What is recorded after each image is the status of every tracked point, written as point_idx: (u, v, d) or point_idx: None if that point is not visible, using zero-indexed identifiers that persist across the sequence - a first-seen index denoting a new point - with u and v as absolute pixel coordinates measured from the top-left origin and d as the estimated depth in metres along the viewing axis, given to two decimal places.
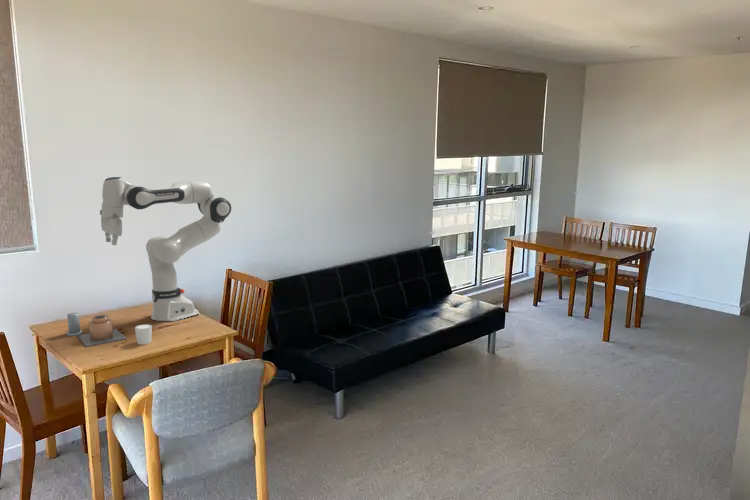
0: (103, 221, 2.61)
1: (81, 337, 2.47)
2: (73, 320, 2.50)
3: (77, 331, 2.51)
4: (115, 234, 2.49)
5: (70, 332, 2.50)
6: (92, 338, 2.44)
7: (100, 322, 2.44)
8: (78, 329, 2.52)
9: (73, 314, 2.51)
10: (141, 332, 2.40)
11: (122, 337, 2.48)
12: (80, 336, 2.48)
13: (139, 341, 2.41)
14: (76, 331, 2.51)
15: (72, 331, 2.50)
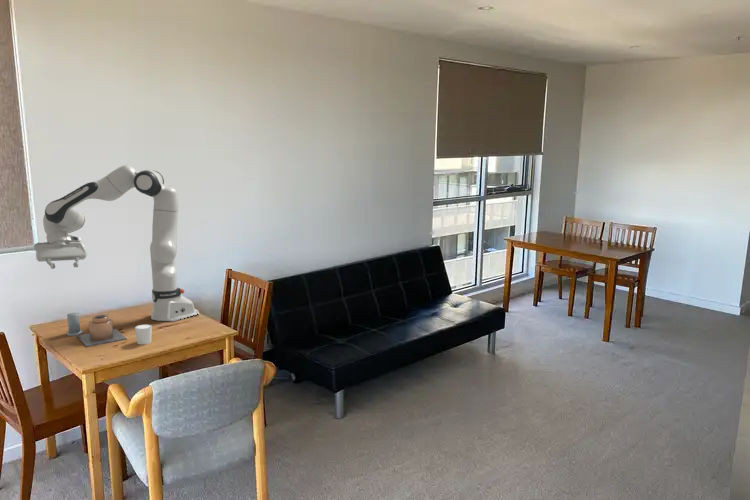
0: None
1: (81, 337, 2.47)
2: (73, 320, 2.50)
3: (77, 331, 2.51)
4: (37, 259, 2.52)
5: (70, 332, 2.50)
6: (92, 338, 2.44)
7: (100, 322, 2.44)
8: (78, 329, 2.52)
9: (73, 314, 2.51)
10: (141, 332, 2.40)
11: (122, 337, 2.48)
12: (80, 336, 2.48)
13: (139, 341, 2.41)
14: (76, 331, 2.51)
15: (72, 331, 2.50)
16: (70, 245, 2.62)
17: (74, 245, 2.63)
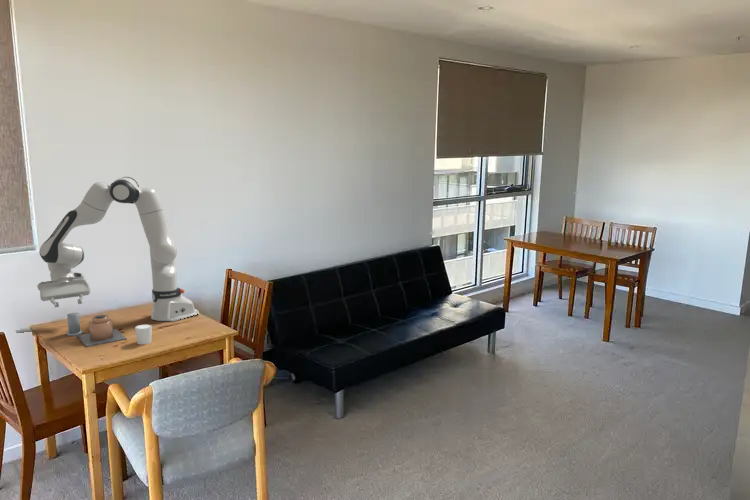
0: None
1: (81, 337, 2.47)
2: (73, 320, 2.50)
3: (77, 331, 2.51)
4: (41, 299, 2.53)
5: (70, 332, 2.50)
6: (92, 338, 2.44)
7: (100, 322, 2.44)
8: (78, 329, 2.52)
9: (73, 314, 2.51)
10: (141, 332, 2.40)
11: (122, 337, 2.48)
12: (80, 336, 2.48)
13: (139, 341, 2.41)
14: (76, 331, 2.51)
15: (72, 331, 2.50)
16: (73, 282, 2.62)
17: (77, 281, 2.63)
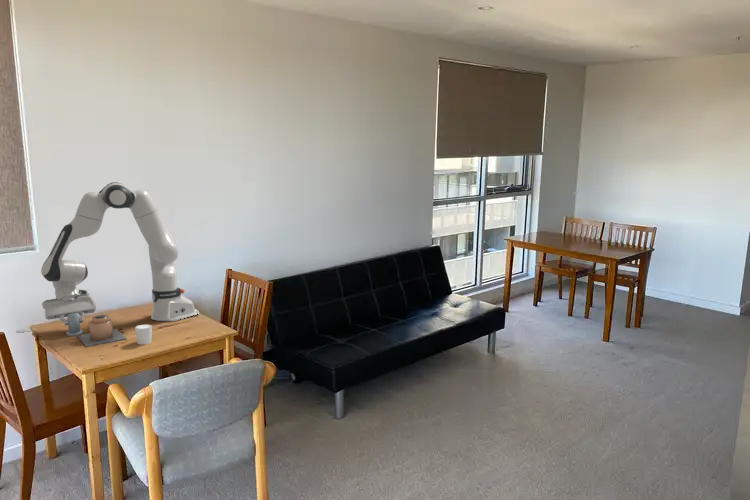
0: None
1: (81, 337, 2.47)
2: (73, 320, 2.50)
3: (77, 331, 2.51)
4: (46, 318, 2.48)
5: (70, 332, 2.50)
6: (92, 338, 2.44)
7: (100, 322, 2.44)
8: (78, 329, 2.52)
9: (73, 314, 2.51)
10: (141, 332, 2.40)
11: (122, 337, 2.48)
12: (80, 336, 2.48)
13: (139, 341, 2.41)
14: (76, 331, 2.51)
15: (72, 331, 2.50)
16: (79, 299, 2.57)
17: (83, 299, 2.58)
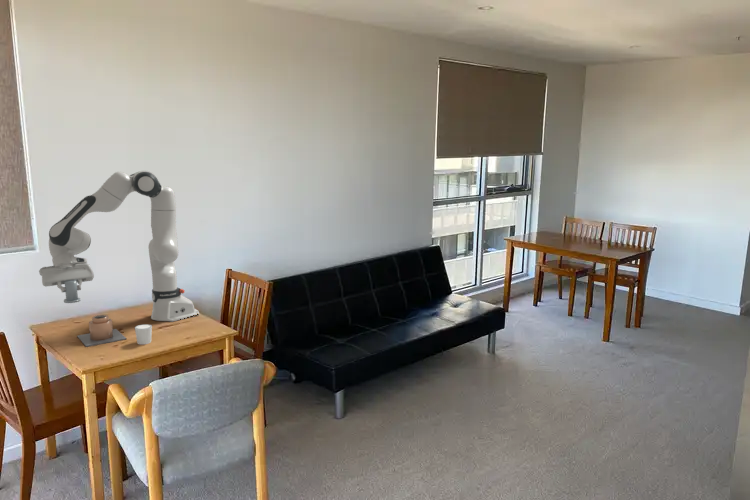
0: None
1: (81, 337, 2.47)
2: (70, 287, 2.47)
3: (75, 298, 2.49)
4: (43, 284, 2.45)
5: (67, 299, 2.48)
6: (92, 338, 2.44)
7: (100, 322, 2.44)
8: (76, 296, 2.49)
9: (70, 281, 2.48)
10: (141, 332, 2.40)
11: (122, 337, 2.48)
12: (80, 336, 2.48)
13: (139, 341, 2.41)
14: (74, 298, 2.48)
15: (69, 298, 2.48)
16: (76, 267, 2.54)
17: (80, 267, 2.55)
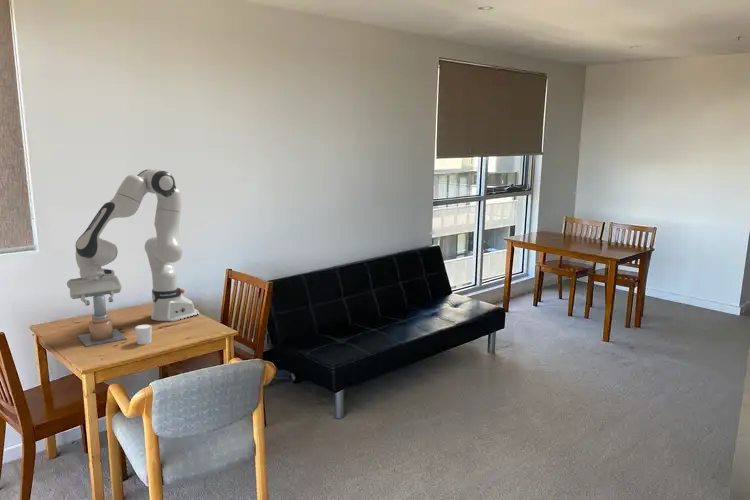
0: None
1: (81, 337, 2.47)
2: (99, 303, 2.43)
3: (103, 314, 2.45)
4: (71, 297, 2.41)
5: (96, 315, 2.44)
6: (92, 338, 2.44)
7: (100, 322, 2.44)
8: (104, 312, 2.45)
9: (99, 296, 2.44)
10: (141, 332, 2.40)
11: (122, 337, 2.48)
12: (80, 336, 2.48)
13: (139, 341, 2.41)
14: (102, 314, 2.44)
15: (98, 314, 2.44)
16: (104, 279, 2.50)
17: (108, 278, 2.51)
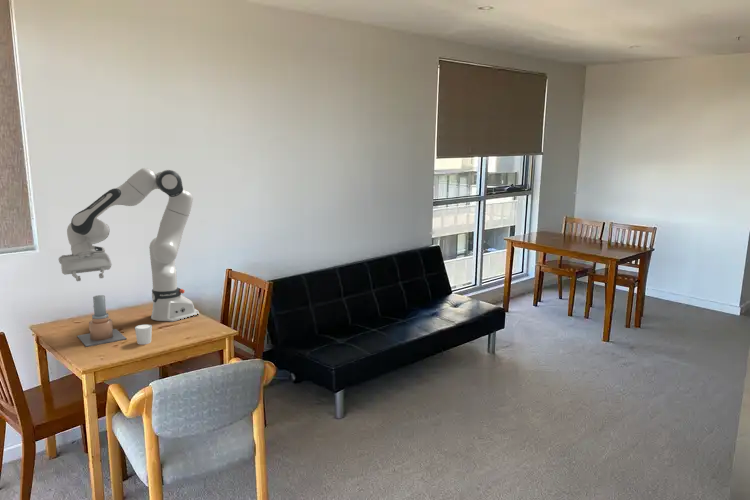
0: None
1: (81, 337, 2.47)
2: (99, 303, 2.43)
3: (103, 314, 2.45)
4: (62, 272, 2.50)
5: (96, 315, 2.44)
6: (92, 338, 2.44)
7: (100, 322, 2.44)
8: (104, 312, 2.45)
9: (99, 296, 2.44)
10: (141, 332, 2.40)
11: (122, 337, 2.48)
12: (80, 336, 2.48)
13: (139, 341, 2.41)
14: (102, 314, 2.44)
15: (98, 314, 2.44)
16: (94, 256, 2.59)
17: (98, 256, 2.60)
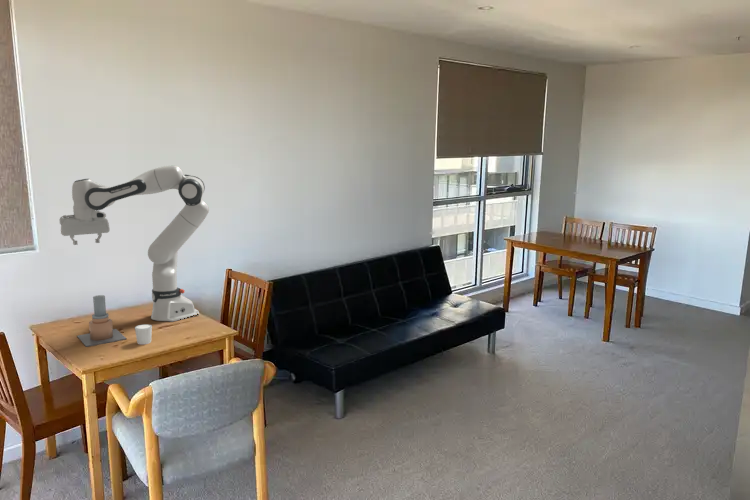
0: None
1: (81, 337, 2.47)
2: (99, 303, 2.43)
3: (103, 314, 2.45)
4: (61, 233, 2.59)
5: (96, 315, 2.44)
6: (92, 338, 2.44)
7: (100, 322, 2.44)
8: (104, 312, 2.45)
9: (99, 296, 2.44)
10: (141, 332, 2.40)
11: (122, 337, 2.48)
12: (80, 336, 2.48)
13: (139, 341, 2.41)
14: (102, 314, 2.44)
15: (98, 314, 2.44)
16: (95, 221, 2.64)
17: (99, 221, 2.65)
